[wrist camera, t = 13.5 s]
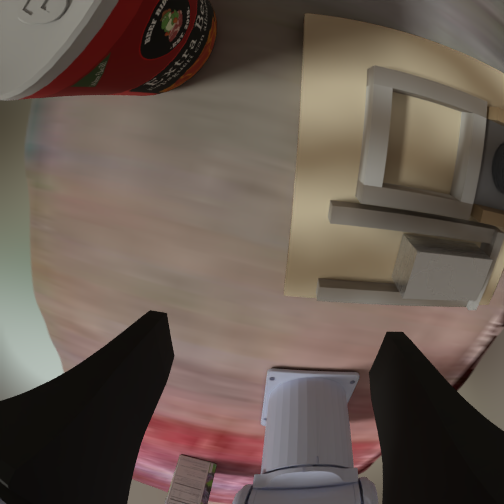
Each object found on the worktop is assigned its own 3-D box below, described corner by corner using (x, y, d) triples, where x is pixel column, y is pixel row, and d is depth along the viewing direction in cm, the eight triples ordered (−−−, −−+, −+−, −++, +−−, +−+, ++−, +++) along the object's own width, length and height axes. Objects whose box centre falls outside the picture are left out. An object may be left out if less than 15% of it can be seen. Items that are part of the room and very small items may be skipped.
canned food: (187, 113, 15) (55, 127, 6) (87, 79, 15) (-52, 88, 5) (244, 2, 12) (187, -113, 2) (133, -20, 11) (21, -78, 1)
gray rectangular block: (461, 281, 17) (476, 300, 15) (391, 277, 17) (402, 298, 15) (474, 243, 16) (492, 260, 13) (402, 234, 16) (417, 251, 14)
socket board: (482, 297, 18) (498, 318, 16) (284, 287, 20) (283, 312, 17) (528, 92, 11) (552, 94, 8) (303, 18, 12) (306, 1, 10)
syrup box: (211, 472, 38) (195, 545, 25) (176, 463, 37) (155, 535, 25) (217, 463, 35) (199, 545, 22) (178, 452, 35) (154, 533, 22)
